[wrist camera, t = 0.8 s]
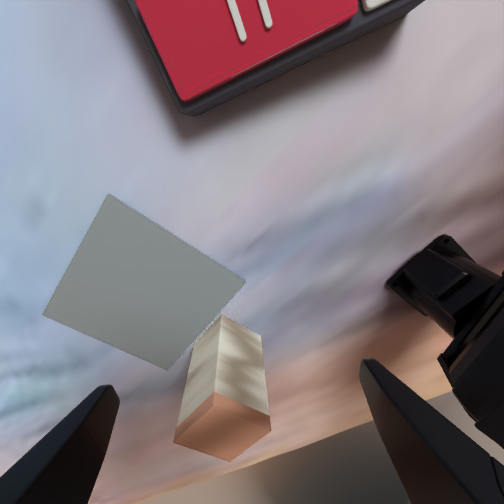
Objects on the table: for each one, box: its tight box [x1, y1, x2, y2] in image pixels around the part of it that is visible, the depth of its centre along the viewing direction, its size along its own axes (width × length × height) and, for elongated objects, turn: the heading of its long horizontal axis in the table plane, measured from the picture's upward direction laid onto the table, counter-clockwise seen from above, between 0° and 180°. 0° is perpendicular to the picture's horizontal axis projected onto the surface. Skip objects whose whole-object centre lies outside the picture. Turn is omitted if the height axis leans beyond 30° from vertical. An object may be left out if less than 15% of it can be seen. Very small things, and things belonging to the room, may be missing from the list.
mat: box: [42, 194, 246, 370], centre depth 22 cm, size 13×14×1 cm
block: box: [173, 314, 271, 462], centre depth 21 cm, size 5×5×9 cm
